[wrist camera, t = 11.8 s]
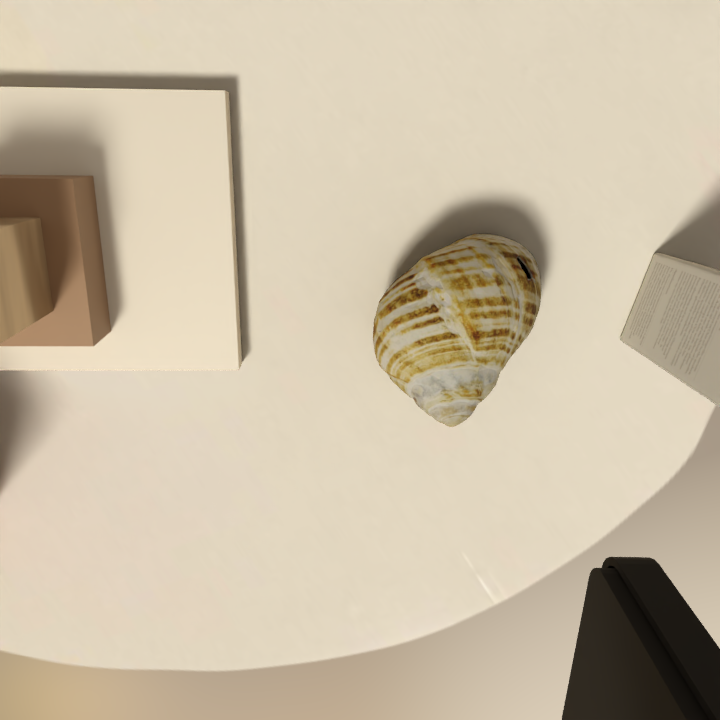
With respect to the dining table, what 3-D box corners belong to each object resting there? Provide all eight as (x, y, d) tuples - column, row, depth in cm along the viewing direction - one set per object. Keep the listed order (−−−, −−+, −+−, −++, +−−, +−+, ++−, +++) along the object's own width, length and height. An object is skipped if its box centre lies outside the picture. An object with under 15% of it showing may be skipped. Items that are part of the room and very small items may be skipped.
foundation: (229, 92, 36) (215, 86, 32) (242, 362, 41) (231, 388, 37) (-139, 86, 35) (-204, 79, 31) (-79, 362, 41) (-128, 388, 36)
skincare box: (677, 354, 42) (802, 433, 31) (617, 339, 42) (722, 414, 30) (716, 265, 40) (864, 314, 29) (654, 248, 40) (780, 291, 29)
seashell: (550, 214, 38) (600, 331, 31) (505, 331, 45) (537, 448, 38) (381, 200, 37) (394, 318, 30) (361, 323, 44) (368, 442, 37)
